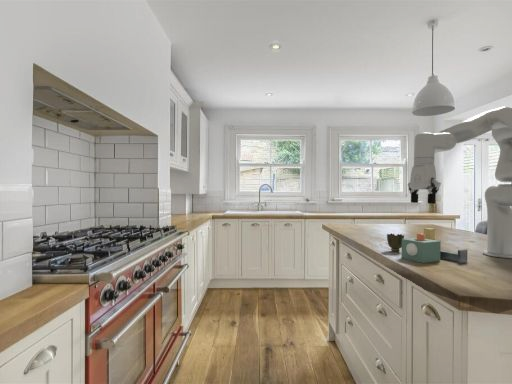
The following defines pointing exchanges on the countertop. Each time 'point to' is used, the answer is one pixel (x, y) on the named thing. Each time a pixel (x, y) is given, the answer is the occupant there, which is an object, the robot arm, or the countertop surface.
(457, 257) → the rail
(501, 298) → the countertop surface
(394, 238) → the cup
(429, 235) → the carriage
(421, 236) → the orange peg
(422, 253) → the green box
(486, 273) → the countertop surface
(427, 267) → the countertop surface
